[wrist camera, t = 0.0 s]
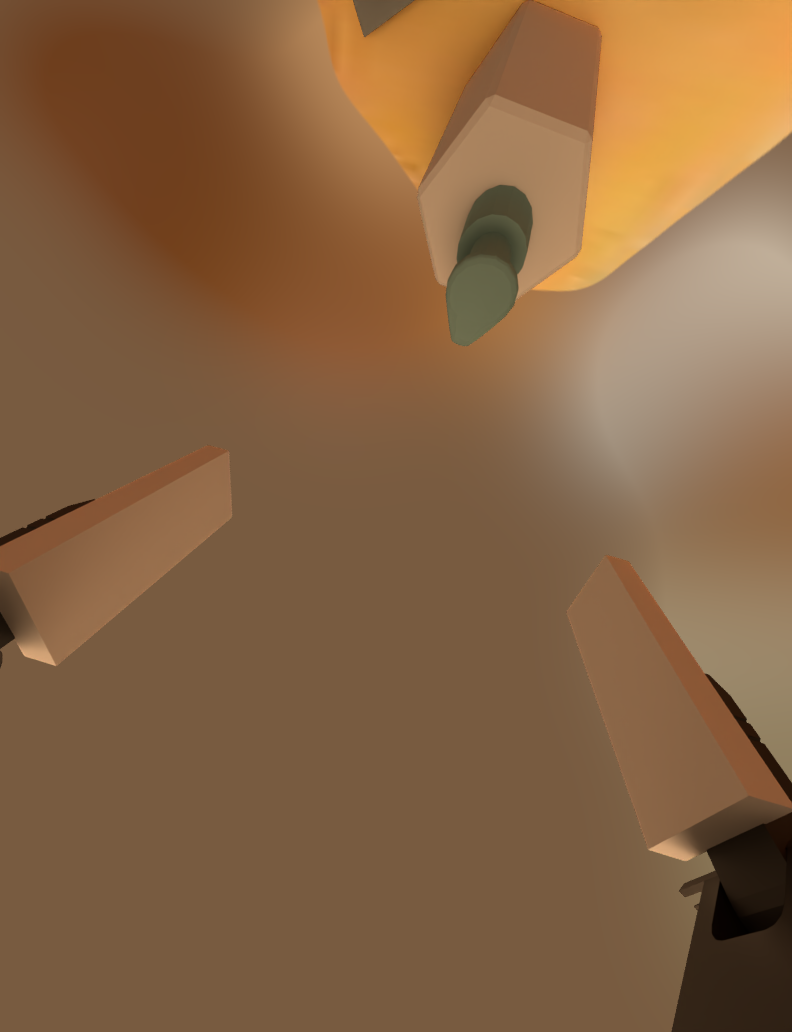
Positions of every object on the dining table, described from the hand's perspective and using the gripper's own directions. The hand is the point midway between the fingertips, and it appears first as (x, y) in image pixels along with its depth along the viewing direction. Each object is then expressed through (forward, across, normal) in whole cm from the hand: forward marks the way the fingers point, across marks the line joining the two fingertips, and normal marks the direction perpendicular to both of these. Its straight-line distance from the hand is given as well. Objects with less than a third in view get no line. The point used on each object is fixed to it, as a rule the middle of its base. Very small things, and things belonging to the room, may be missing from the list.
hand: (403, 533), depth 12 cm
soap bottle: (+29, 0, +21) cm, 36 cm away
